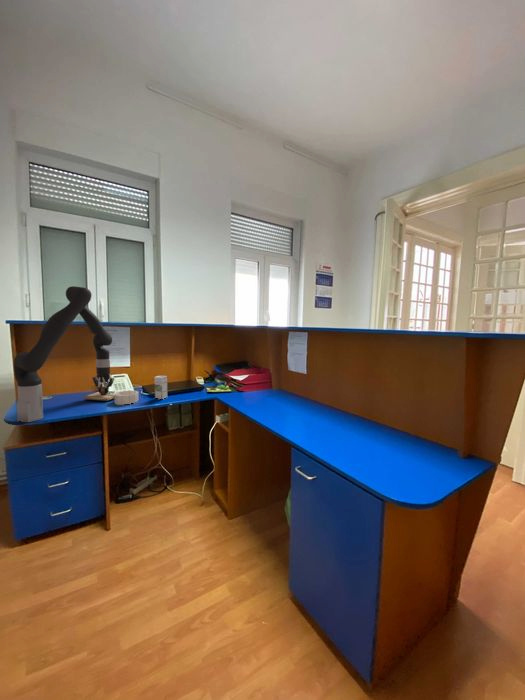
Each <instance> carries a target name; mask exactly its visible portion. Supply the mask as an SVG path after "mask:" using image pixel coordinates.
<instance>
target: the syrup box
mask: <svg viewBox="0 0 525 700" xmlns="http://www.w3.org/2000/svg"><path fill="white" fill-rule="evenodd" d="M166 397H167V398H168V376H167V375H157V376H154V399H155V398H158V399H157V400H160V399H163V400H165V399H164V398H166ZM167 398H166V399H167Z"/></svg>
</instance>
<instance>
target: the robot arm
mask: <svg viewBox="0 0 525 700" xmlns="http://www.w3.org/2000/svg"><path fill="white" fill-rule="evenodd" d="M65 297H66V300H67V301H68V302H69V303H68V304H67V305H66V306H65V307H63V308H62V309H60V310H58V311H56V312H55V313H53V314H52V315H50V317H49V318H48V319H47V321H46V322H45V323H44V324H43V326H42V328H41V331H40V334H39V339H38V341H37V342H36V344H35V345H34V346H33V347H32V349H31V350H30V351H20V352H19V353H17V354H16V355H15V357H14V359H13V368H14V369H13V370H14V371H13V372H14V378H15V381H16V383H17V384H16V385H17V396H18V397H17V398H18V399H17V400H18V401H16V416H17V417H16V418H17V422H19V421H21V422H22V423H30V422H31V423H32V422H35V421H39V420H42V419H43V418H44V405H43V404H44V403H43V402H44V401H43V382H42V378H41V376H39V374H38V371H39V370H40V369H41V368H42V367H43V366H44V365H45V362H46V361H47V359H48V358H49V356H50V354H51V352H52V351H53V349H54V348H55V347H56V345H57V344H58V343H59V341H60V339H61V338H62V337H63V336H64V335H65V333H66V331H67V330H68V329H69V327H71V324H72V323H73V322H74V321H75V320H76V318H77V316H78V315H79V316H80V317H81V319H83V321H84V323H85V324H86V326H87V328H88V329H89V331H90V333H91V334H92V335H94V336H93V338H92V343H93V347H94V349H95V352H96V363H95V364H96V365H95V367H96V368H95V370H96V376H94V377H92V380H93V383H94V385H95V387H98V392H99V393H101V387H102V386H105V394H107V393H108V392H110V390H109V388H110V387H112V386H113V383H114V381H115V377H111V375H110V373H111V361H110V350H109V349H106V348H105V347H104V346H107V347H108V346H110V345H111V344H112V342H113V338H112V336H111V334H110V332H108V331H107V330H106V328H105V327H104V326H103V325H102V323H101V321H100V319H99V318H98V316H97V315H96V314H95V313H94V312H93V311H91V309H90V308H89V307H88V306H87V305H88V304H89V303H90V301H91V299H92V291H91V290H90V289H88V288H87V287H84V286H83V287H82V286H73V285H72V286H69V287H68V288H66V290H65ZM21 422H20V423H21Z"/></svg>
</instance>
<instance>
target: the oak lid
mask: <svg viewBox="0 0 525 700" xmlns="http://www.w3.org/2000/svg"><path fill="white" fill-rule="evenodd" d="M82 399H83V400H90V401H91V400H92V401H110V400H112V399H115V397H114V394H105V385H102V387H101V393H99V391H97V392H94V393H90V394H88V395H85V396H83V397H82Z"/></svg>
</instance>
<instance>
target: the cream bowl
mask: <svg viewBox="0 0 525 700" xmlns="http://www.w3.org/2000/svg"><path fill="white" fill-rule="evenodd" d="M115 392H116V393H115V394H114V397H115V398H114V404H115V405H117V406H125V405H124V404H130V405H132V404H131V403H134V404H136V403H135V402H137V401H138V400H139V399H140V398H139V391H138V390H132V389H131V390H129V389H127V390H121V391H115ZM139 401H140V400H139ZM139 401H138V402H139ZM138 402H137V403H138Z"/></svg>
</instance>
